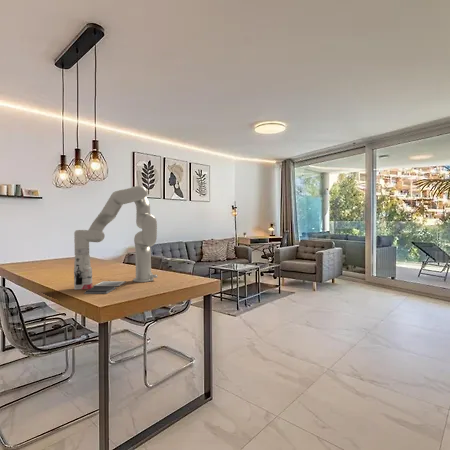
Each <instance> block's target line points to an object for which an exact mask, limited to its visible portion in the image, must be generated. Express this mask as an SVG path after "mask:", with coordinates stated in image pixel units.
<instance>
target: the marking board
mask: <svg viewBox="0 0 450 450" xmlns="http://www.w3.org/2000/svg"><path fill="white" fill-rule="evenodd" d="M125 283H127V281H126V280H125V281H123V280H121V281H120V280H119V281H118V280H115V281H114V280H113V281H111V280H110V281H109V280H108V281H105V280H102V281H101V282H99V283H96V284H94V285H93V287H94V286H114V287H120V286H121V285H124V284H125Z"/></svg>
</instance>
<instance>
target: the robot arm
mask: <svg viewBox="0 0 450 450" xmlns="http://www.w3.org/2000/svg"><path fill="white" fill-rule="evenodd" d="M147 195H148V191H147V188H146V187H145V186H143V185H135V186H132V187H129V188H125V189H120V190H116V191H114V192H112V193H111V195H110V196H109V198H108V199H107V202H105V204H104V206H103V208H102V209H101V210H100V212H99V214H98V215H97V216H96V217H95V219H94V220H93V221H92V223H91V225H90V227H89V228H88V229H77V230H75V231H74V233H73V235H74V237H73V238H74V268H73V275H74V274H75V277H76V285H82V277H81V276H82V272H86V268H91V267H92V265H91V257H90V243H100V242H103V240H104V239H105V232H104V230H105V228H106V227H107V225H108V224H110V223H111V222H112V221H114V219H116V217H117V215H118V213H119V212H120V210H121V209H122V207H123V206H124V205H126V204H131V203H134V204H135V209H136V214H135V216H136V217H135V218H136V219H135V220H136V221H135V222H136V226H137V228H139V229H140V231H138V232H136V234H134V238H133V242H134V249H135V277H134V278H133V279H132V281H133V282H135V283H147V282H149V283H150V282H152V281H154V278H155V279H157V278H158V274H153V272H152V251H151V247H153V246H155V244H156V243H157V237H158V223H157V221H158V220H157V218H156V217H155V216H154V215H153V214H151V205H150V200H149V199H148V197H147ZM78 271H80V272H78ZM79 273H80V275H79Z"/></svg>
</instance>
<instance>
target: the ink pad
mask: <svg viewBox="0 0 450 450" xmlns="http://www.w3.org/2000/svg"><path fill="white" fill-rule="evenodd" d="M116 287H117V286H94V285H93V286H92V288H90V289H85V291H84V294H85V295H95V294H96V295H98V294H99V295H100V294H101V295H104V294H105V295H107V294H109V293H111V292H112V291H114V290H116Z"/></svg>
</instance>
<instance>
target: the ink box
mask: <svg viewBox="0 0 450 450" xmlns="http://www.w3.org/2000/svg"><path fill="white" fill-rule="evenodd" d="M78 272H80V271H78ZM79 275H80V273H79ZM81 277H82V285H76V277H75V274H74V273H73V282H74V283H73V290H88V289H90V288H92V287H93V267H92V266H91V268H86V272H82V276H81Z"/></svg>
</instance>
